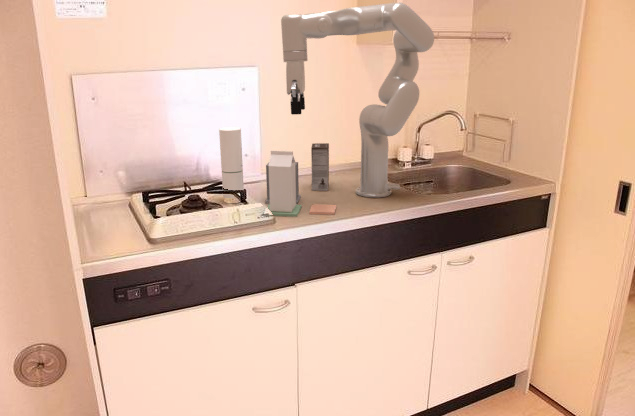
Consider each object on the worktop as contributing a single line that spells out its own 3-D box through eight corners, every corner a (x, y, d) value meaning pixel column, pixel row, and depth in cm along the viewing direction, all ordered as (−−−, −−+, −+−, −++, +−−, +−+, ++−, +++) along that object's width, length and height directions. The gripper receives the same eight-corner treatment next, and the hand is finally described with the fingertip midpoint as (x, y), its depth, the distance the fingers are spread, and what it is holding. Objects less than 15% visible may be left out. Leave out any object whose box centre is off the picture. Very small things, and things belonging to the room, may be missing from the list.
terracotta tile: (336, 207, 178) (336, 204, 177) (334, 214, 170) (334, 212, 170) (312, 206, 179) (312, 204, 178) (309, 214, 171) (309, 211, 171)
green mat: (301, 207, 178) (301, 204, 178) (297, 216, 169) (297, 214, 168) (269, 206, 179) (269, 203, 179) (262, 215, 170) (262, 213, 169)
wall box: (300, 197, 189) (300, 161, 185) (297, 204, 181) (296, 166, 177) (269, 196, 190) (268, 160, 186) (265, 203, 182) (263, 166, 178)
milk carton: (291, 212, 170) (290, 153, 164) (269, 211, 171) (267, 153, 165) (296, 206, 176) (295, 149, 171) (275, 205, 178) (273, 148, 172)
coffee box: (312, 184, 206) (311, 143, 201) (328, 184, 206) (328, 143, 201) (311, 190, 197) (311, 147, 192) (328, 190, 197) (328, 147, 192)
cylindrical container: (246, 197, 188) (242, 127, 181) (241, 203, 182) (237, 130, 174) (226, 197, 189) (222, 127, 182) (221, 203, 182) (216, 130, 175)
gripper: (287, 55, 175) (290, 108, 180) (279, 58, 159) (282, 116, 164) (310, 54, 174) (312, 107, 180) (304, 57, 158) (307, 115, 163)
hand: (298, 111), depth 172 cm, fingers open, 9 cm apart
